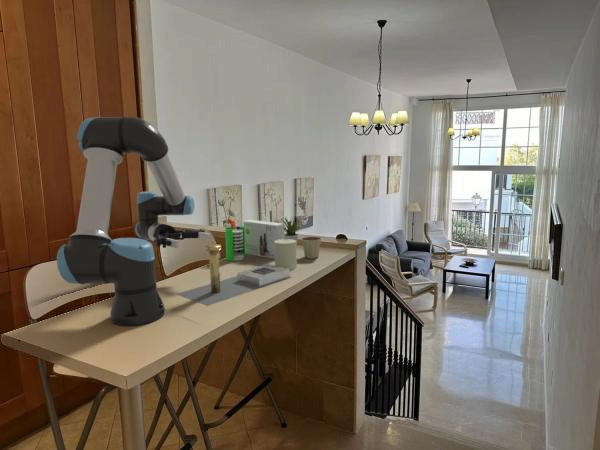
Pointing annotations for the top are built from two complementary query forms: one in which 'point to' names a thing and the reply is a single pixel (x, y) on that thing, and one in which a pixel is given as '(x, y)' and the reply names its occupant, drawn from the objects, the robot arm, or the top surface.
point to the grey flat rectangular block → (263, 275)
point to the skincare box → (262, 237)
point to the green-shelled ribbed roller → (235, 241)
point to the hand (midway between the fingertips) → (194, 240)
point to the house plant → (291, 229)
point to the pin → (214, 267)
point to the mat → (228, 290)
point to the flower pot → (311, 246)
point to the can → (285, 253)
